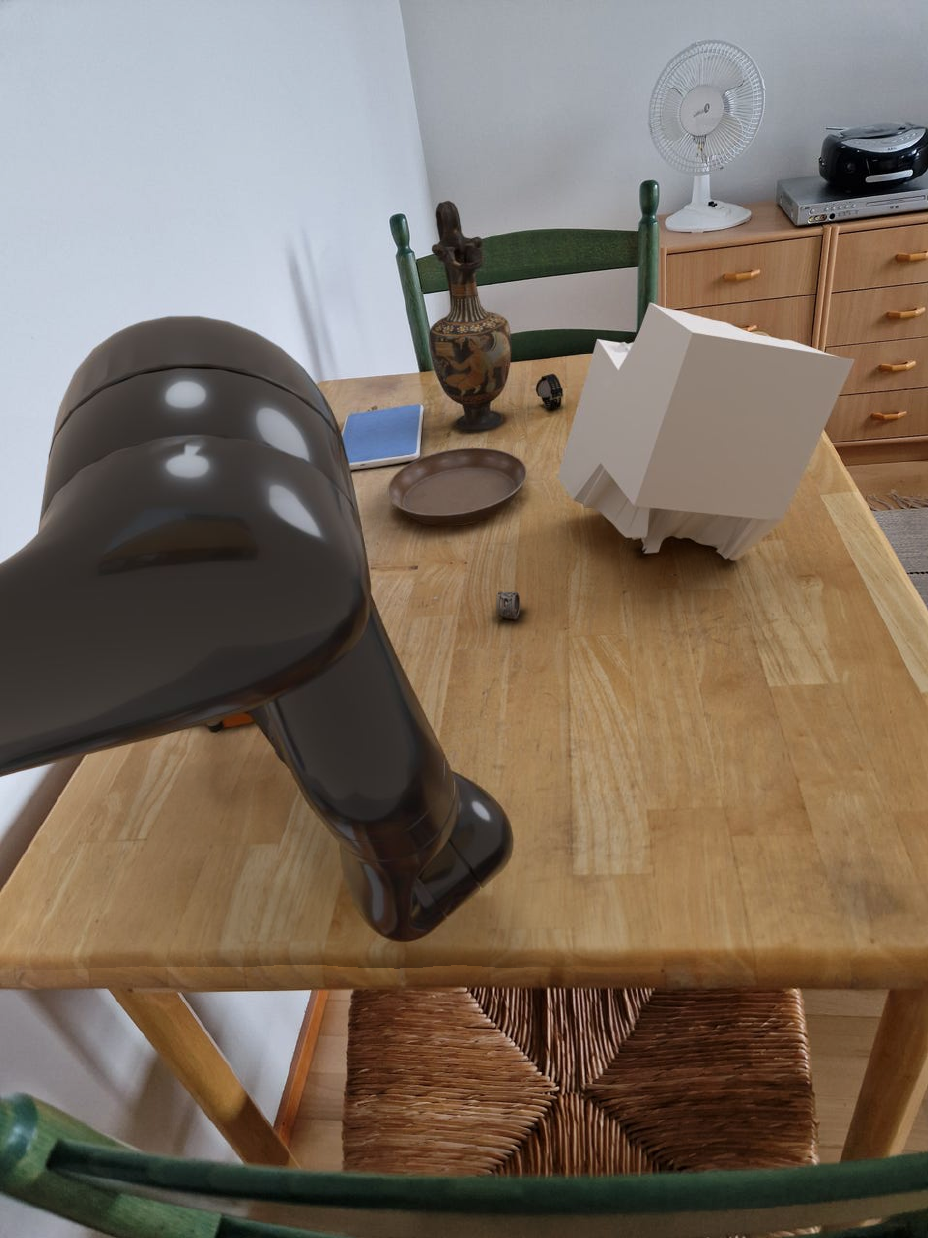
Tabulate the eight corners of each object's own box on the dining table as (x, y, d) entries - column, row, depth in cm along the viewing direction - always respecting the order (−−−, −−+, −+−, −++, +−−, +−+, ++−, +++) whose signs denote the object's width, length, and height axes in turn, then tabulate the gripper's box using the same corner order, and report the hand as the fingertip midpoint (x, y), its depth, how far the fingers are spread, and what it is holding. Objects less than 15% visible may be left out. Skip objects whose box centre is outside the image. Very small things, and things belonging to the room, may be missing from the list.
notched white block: (547, 498, 97) (609, 274, 84) (670, 511, 101) (747, 299, 88) (603, 591, 81) (691, 332, 67) (747, 602, 85) (856, 359, 72)
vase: (451, 444, 120) (414, 220, 103) (435, 415, 130) (399, 206, 113) (529, 426, 121) (505, 202, 104) (507, 399, 131) (482, 190, 114)
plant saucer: (539, 520, 99) (537, 497, 97) (393, 545, 99) (388, 523, 97) (518, 458, 113) (515, 438, 111) (390, 481, 113) (386, 460, 112)
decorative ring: (503, 608, 85) (500, 583, 84) (521, 608, 85) (518, 584, 83) (497, 624, 83) (494, 600, 81) (516, 625, 83) (513, 600, 81)
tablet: (420, 462, 117) (418, 453, 116) (332, 474, 118) (330, 465, 117) (425, 410, 133) (423, 402, 132) (347, 421, 134) (346, 413, 133)
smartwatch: (564, 400, 127) (562, 368, 125) (564, 413, 123) (561, 381, 120) (537, 403, 128) (534, 371, 125) (536, 416, 124) (533, 384, 121)
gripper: (387, 641, 64) (301, 562, 75) (213, 729, 58) (149, 629, 70) (405, 713, 68) (321, 628, 80) (244, 801, 62) (179, 696, 74)
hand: (241, 629), depth 75 cm, fingers open, 8 cm apart
